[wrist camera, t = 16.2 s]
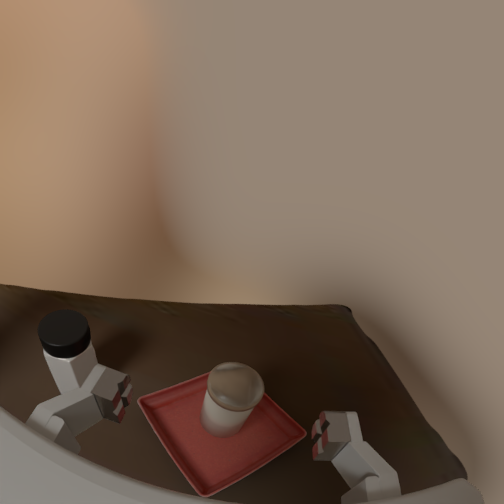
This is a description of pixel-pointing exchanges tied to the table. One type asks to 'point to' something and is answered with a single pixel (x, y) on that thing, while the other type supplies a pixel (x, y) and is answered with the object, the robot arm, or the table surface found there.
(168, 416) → the plant saucer
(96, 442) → the table surface
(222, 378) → the canister
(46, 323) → the jar
